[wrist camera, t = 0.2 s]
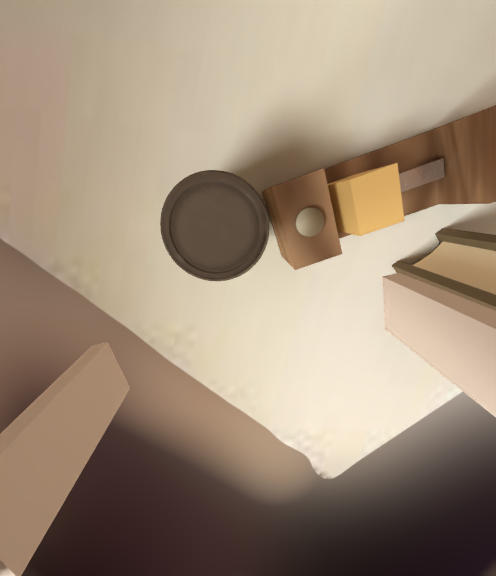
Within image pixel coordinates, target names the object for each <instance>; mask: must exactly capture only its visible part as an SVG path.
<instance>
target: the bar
mask: <svg viewBox="0 0 496 576" xmlns="http://www.w3.org/2000/svg"><path fill="white" fill-rule="evenodd" d="M443 177H445V173H444V158H442V159H438V160H433V161H430V162H427V163H424V164H422V165H419V166H416V167H413V168H410V169H408V170H405V171H402V172H399V180H400V188H401V192H404V191H406V190H409V189H412V188H415V187H418V186H421V185H424V184H426V183H429V182H432V181H435V180H438V179H441V178H443Z"/></svg>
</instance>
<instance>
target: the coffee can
mask: <svg viewBox="0 0 496 576" xmlns="http://www.w3.org/2000/svg"><path fill="white" fill-rule="evenodd" d="M160 225H161V235H162V239H163V242H164V245H165V247H166V249H167V251H168V253H169V255H170V256H171V258H172V259H173V260H174V261H175V263H176V264H177V265H178V266H179V267H181V268H182V269H183V270H184V271H186V272H187V273H189V274H191V275H193V276H195V277H197V278H200V279H204V280H208V281H225V280H230V279H233V278H236V277H238V276H241V275H242V274H244V273H246V272H247V271H248V270H250V269H251V268H252V267H253V266H254V265H255V264H256V263H257V262H258V260H259V259H260V258H261V256H262V254H263V252H264V250H265V247H266V245H267V241H268V236H269V219H268V214H267V211H266V208H265V205H264V203H263V201H262V199H261V198H260V196H259V195H258V193H257V192H256V191H255V190H254V189H253V187H252V186H251V185H249V184H248V183H247V182H246V181H244V180H243V179H242V178H240V177H238V176H236V175H234V174H231V173H228V172H224V171H218V170H208V171H201V172H197V173H194V174H192V175H190V176H188V177H186V178H184V179H183V180H182V181H180V182H179V183H178V184H177V185H176V186H175V187H174V188H173V189H172V190H171V192H170V193H169V195H168V196H167V198H166V200H165V203H164V205H163V208H162V213H161V223H160Z"/></svg>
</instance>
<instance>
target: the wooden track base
mask: <svg viewBox="0 0 496 576" xmlns="http://www.w3.org/2000/svg"><path fill="white" fill-rule="evenodd" d="M442 158H444V173H445V177H443V178H441V179H438V180H435V181H432V182H429V183H426V184H424V185H421V186H418V187H415V188H412V189H409V190H406V191H404V192H401V197H402V205H403V213H404V216H406V215H409V214H412V213H415V212H417V211H420V210H423V209H426V208H429V207H432V206H435V205H438V204H487V203H492V202H495V201H496V106H493V107H490V108H487V109H485V110H482V111H480V112H477V113H475V114H472V115H470V116H467V117H464V118H462V119H459V120H457V121H454V122H452V123H449V124H446V125H444V126H441V127H439V128H436V129H434V130H431V131H428V132H425V133H423V134H420V135H417V136H414V137H412V138H409V139H406V140H403V141H401V142H398V143H395V144H392V145H390V146H387V147H384V148H381V149H379V150H376V151H373V152H370V153H368V154H365V155H362V156H359V157H356V158H354V159H351V160H348V161H345V162H343V163H340V164H337V165H334V166H332V167H329V168H326V169H324V168H322V169H320V170H317V171H314V172H311V173H309V174H306V175H303V176H300V177H298V178H295V179H292V180H289V181H287V182H284V183H281V184H278V185H276V186H273V187H271V188H269V189H267V190H265V191H263V195H264V198H265V201H266V205H267V208H268V212H269V215H270V218H271V222H272V225H273V228H274V232H275V235H276V238H277V242H278V245H279V248H280V252H281V255H282V257H283V258H284V259H285V260H286V261H287V262H288V263H289V264H290V265H291V266H292V267H293V268H294V269H295V270H296V269H299V268H302V267H305V266H308V265H311V264H314V263H317V262H320V261H323V260H325V259H328V258H331V257H334V256H337V255H340V254H342V251H341V246H340V241H339V238H342V237H345V236H348V235H351V234H349V233H345V232H340V231H337V227H336V222H335V218H334V213H333V208H332V204H331V199H330V194H329V190H328V185H327V184H329V183H332V182H335V181H338V180H341V179H343V178H346V177H349V176H352V175H355V174H358V173H362V172H366V171H369V170H373V169H377V168H380V167H384V166H388V165H391V164H395V163H398V172H402V171H405V170H408V169H410V168H413V167H416V166H419V165H422V164H424V163H427V162H430V161H433V160H438V159H442Z"/></svg>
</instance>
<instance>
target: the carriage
mask: <svg viewBox="0 0 496 576" xmlns="http://www.w3.org/2000/svg"><path fill="white" fill-rule="evenodd" d="M327 185H328V190H329V194H330V199H331V204H332V208H333V213H334V218H335V222H336V227H337V231H340V232H345V233H349V234H353V235H358V236H362V235H364V234H367V233H370V232H373V231H376V230H379V229H382V228H385V227H388V226H391V225H394V224H396V223H399V222H402V221H404V213H403V205H402V197H401V188H400V180H399V172H398V163H395V164H391V165H388V166H384V167H380V168H377V169H373V170H369V171H366V172H362V173H358V174H355V175H352V176H349V177H346V178H343V179H341V180H338V181H335V182H332V183H329V184H327Z"/></svg>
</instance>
